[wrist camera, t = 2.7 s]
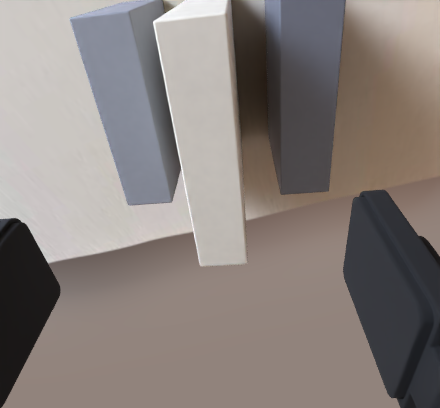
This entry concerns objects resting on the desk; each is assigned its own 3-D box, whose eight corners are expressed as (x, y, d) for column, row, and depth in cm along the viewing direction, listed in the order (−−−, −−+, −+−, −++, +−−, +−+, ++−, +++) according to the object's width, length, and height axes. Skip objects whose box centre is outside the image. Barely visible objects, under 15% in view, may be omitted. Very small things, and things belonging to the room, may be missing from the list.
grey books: (309, -21, 22) (347, -17, 15) (304, 134, 29) (329, 191, 21) (119, 2, 24) (68, 18, 16) (153, 147, 30) (127, 206, 22)
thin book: (230, -11, 23) (227, 11, 11) (241, 139, 29) (247, 264, 17) (195, -7, 23) (151, 20, 11) (213, 142, 29) (199, 267, 17)
